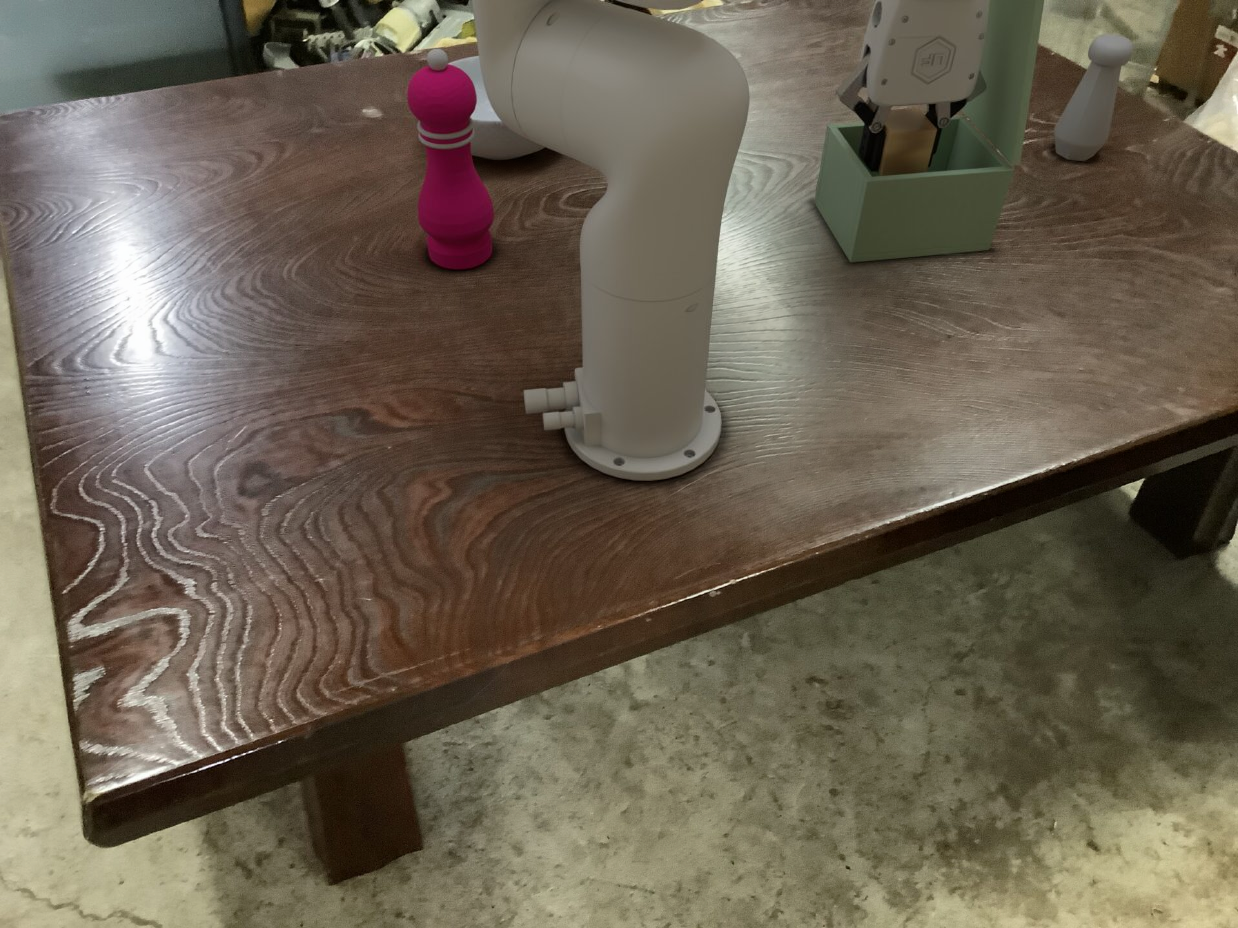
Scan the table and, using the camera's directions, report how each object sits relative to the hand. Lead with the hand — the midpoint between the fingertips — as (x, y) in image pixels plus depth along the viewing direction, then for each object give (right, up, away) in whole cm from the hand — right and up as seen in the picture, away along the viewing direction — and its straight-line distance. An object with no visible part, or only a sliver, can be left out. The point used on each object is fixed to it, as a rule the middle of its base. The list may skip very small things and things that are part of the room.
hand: (895, 161), depth 96 cm
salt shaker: (+26, +6, +17) cm, 31 cm away
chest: (+2, -5, +5) cm, 8 cm away
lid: (+8, +8, -6) cm, 12 cm away
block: (0, 0, 0) cm, 0 cm away
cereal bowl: (-41, +7, +17) cm, 45 cm away
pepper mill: (-43, -9, +1) cm, 44 cm away
